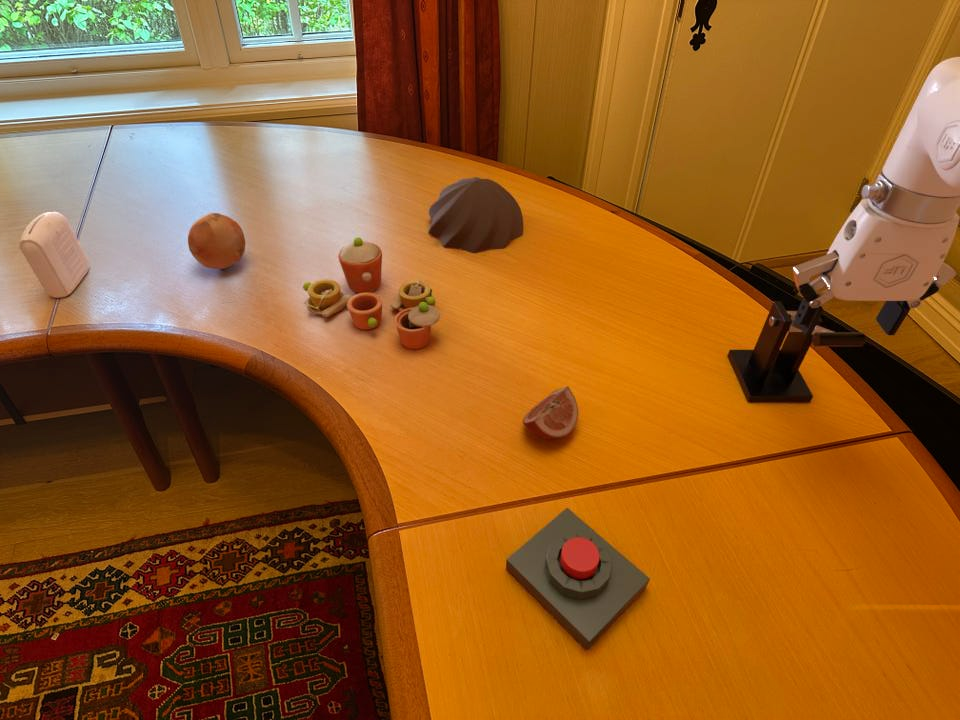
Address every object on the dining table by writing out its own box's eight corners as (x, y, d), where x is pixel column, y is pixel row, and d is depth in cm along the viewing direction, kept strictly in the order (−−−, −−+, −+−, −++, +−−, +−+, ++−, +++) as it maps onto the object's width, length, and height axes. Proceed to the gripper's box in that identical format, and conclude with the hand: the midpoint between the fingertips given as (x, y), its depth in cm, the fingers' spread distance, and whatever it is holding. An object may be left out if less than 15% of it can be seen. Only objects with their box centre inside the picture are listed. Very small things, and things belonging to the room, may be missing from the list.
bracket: (810, 402, 87) (847, 335, 78) (747, 402, 87) (777, 335, 78) (784, 355, 94) (815, 289, 86) (727, 355, 94) (752, 289, 86)
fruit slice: (547, 399, 87) (550, 375, 84) (586, 422, 84) (591, 397, 81) (512, 434, 83) (513, 409, 79) (553, 459, 80) (556, 434, 76)
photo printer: (71, 265, 112) (37, 205, 104) (94, 265, 112) (63, 204, 104) (45, 299, 105) (7, 237, 96) (70, 298, 105) (35, 236, 96)
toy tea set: (293, 309, 103) (281, 261, 96) (353, 265, 112) (345, 218, 106) (419, 364, 93) (414, 315, 86) (472, 310, 103) (471, 262, 96)
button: (605, 563, 65) (607, 555, 64) (580, 587, 63) (582, 579, 62) (577, 538, 67) (578, 530, 66) (552, 560, 65) (553, 552, 64)
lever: (864, 350, 72) (867, 331, 72) (818, 350, 72) (821, 331, 72) (806, 327, 85) (808, 311, 84) (767, 327, 85) (769, 310, 84)
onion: (210, 248, 117) (193, 201, 110) (259, 251, 116) (246, 204, 109) (187, 277, 110) (167, 228, 103) (240, 280, 109) (224, 232, 102)
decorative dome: (505, 261, 114) (506, 213, 107) (410, 239, 119) (406, 193, 112) (536, 213, 127) (540, 167, 120) (450, 196, 132) (448, 151, 125)
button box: (646, 588, 67) (653, 570, 64) (586, 650, 62) (591, 634, 59) (565, 517, 73) (568, 498, 70) (505, 569, 68) (506, 550, 66)
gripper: (844, 215, 57) (781, 348, 69) (1026, 216, 57) (933, 349, 69) (812, 178, 63) (759, 307, 75) (979, 178, 63) (900, 308, 75)
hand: (843, 327), depth 72 cm, fingers open, 9 cm apart
